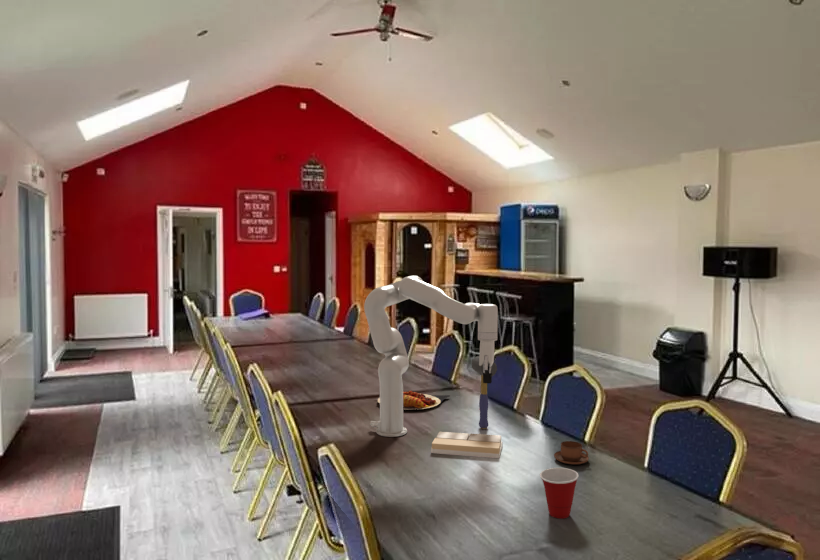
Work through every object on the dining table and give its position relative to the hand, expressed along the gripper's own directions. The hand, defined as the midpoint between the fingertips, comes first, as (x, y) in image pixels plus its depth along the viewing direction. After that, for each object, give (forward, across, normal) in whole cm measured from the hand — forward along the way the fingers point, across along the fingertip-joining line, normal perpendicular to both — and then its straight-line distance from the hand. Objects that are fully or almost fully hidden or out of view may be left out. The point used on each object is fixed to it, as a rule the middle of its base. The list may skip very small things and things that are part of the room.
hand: (487, 382), depth 242 cm
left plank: (+21, +8, -12) cm, 26 cm away
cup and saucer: (+24, +15, +32) cm, 42 cm away
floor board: (+23, +12, -6) cm, 27 cm away
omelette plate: (+24, -50, -42) cm, 70 cm away
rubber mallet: (+23, -16, -3) cm, 28 cm away
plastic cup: (+23, +61, +27) cm, 71 cm away
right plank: (+21, +8, 0) cm, 23 cm away
